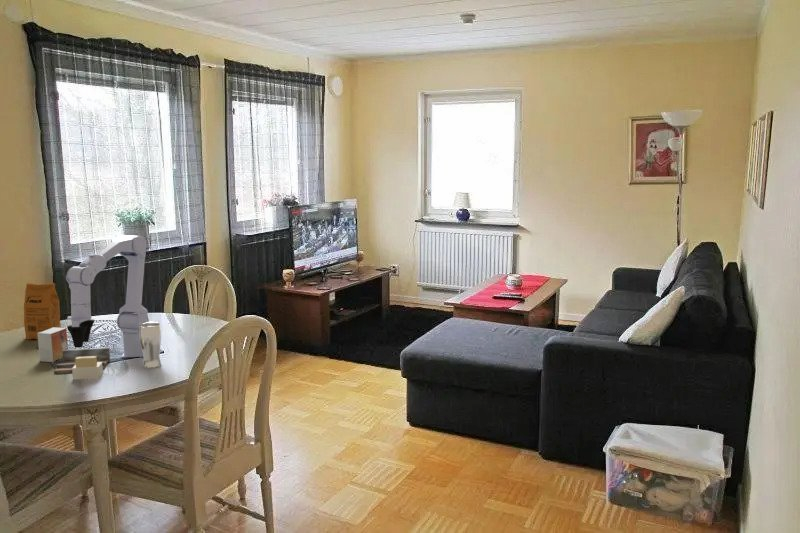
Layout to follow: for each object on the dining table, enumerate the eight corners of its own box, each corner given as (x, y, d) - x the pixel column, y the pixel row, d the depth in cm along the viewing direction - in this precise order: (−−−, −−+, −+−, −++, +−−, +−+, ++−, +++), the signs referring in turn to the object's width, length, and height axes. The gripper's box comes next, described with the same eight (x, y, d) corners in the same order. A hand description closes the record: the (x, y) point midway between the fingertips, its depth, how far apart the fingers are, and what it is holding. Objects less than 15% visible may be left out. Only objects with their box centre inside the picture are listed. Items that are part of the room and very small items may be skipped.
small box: (53, 362, 224) (50, 333, 222) (39, 361, 225) (36, 332, 223) (69, 355, 231) (66, 327, 230) (55, 354, 233) (53, 326, 231)
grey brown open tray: (110, 359, 228) (109, 347, 227) (102, 370, 216) (101, 358, 215) (64, 362, 224) (63, 349, 224) (54, 373, 213) (53, 360, 212)
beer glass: (167, 364, 223) (164, 323, 221) (151, 370, 217) (149, 328, 214) (152, 361, 226) (149, 320, 224) (136, 367, 220) (134, 325, 217)
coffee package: (35, 333, 259) (30, 280, 255) (65, 333, 259) (61, 280, 255) (20, 340, 249) (15, 285, 245) (52, 340, 249) (47, 285, 245)
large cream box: (102, 373, 214) (101, 353, 213) (99, 378, 209) (98, 358, 208) (77, 374, 212) (75, 354, 211) (73, 380, 208) (71, 359, 206)
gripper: (73, 299, 213) (74, 339, 214) (60, 307, 199) (61, 349, 200) (96, 299, 214) (97, 339, 216) (85, 307, 200) (86, 349, 202)
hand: (81, 344), depth 208 cm, fingers open, 7 cm apart
